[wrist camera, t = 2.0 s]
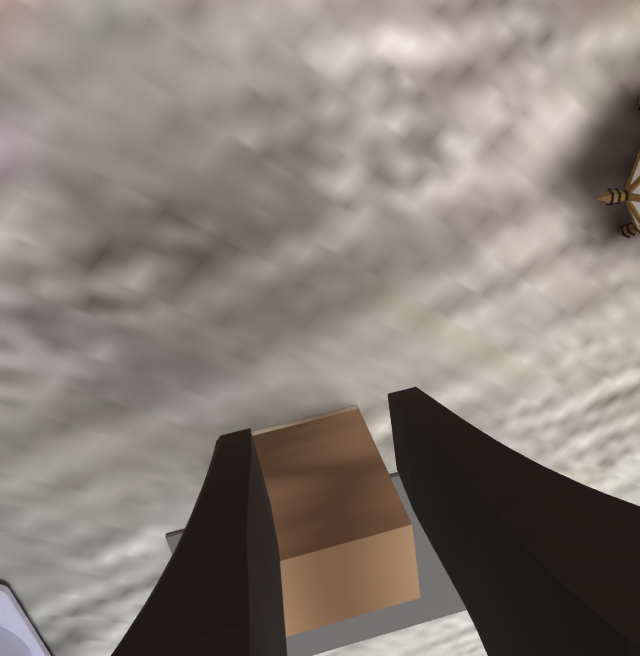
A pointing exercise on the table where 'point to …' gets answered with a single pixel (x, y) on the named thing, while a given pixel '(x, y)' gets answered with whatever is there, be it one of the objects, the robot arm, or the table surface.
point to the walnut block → (335, 520)
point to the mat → (431, 605)
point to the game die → (628, 199)
